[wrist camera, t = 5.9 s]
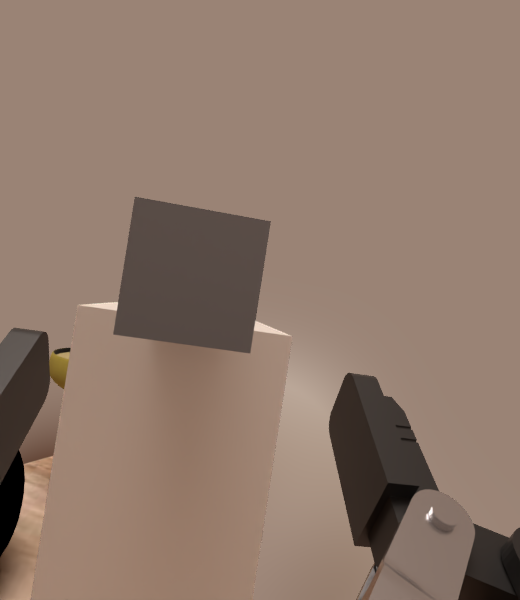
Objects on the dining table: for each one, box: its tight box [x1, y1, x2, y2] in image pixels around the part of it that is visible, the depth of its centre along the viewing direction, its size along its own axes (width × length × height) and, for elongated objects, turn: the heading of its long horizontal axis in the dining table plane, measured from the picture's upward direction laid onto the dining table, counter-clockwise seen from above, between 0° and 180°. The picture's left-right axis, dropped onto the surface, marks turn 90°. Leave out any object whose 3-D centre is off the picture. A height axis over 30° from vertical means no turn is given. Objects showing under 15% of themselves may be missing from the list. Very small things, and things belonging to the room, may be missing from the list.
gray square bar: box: [113, 197, 270, 353], centre depth 28 cm, size 30×4×4 cm, turn 8°
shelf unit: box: [31, 302, 292, 600], centre depth 34 cm, size 18×12×36 cm
